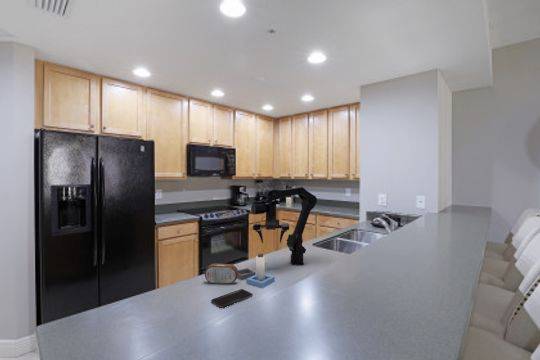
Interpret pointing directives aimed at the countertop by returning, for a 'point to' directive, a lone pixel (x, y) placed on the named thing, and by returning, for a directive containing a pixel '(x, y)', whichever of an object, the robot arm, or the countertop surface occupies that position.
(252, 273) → the gray socket
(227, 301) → the phone
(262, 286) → the blue bezel socket
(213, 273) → the tin
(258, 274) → the cream canister charcoal lid
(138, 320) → the countertop surface
